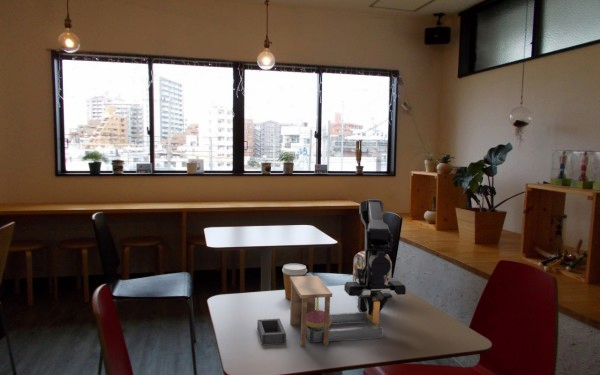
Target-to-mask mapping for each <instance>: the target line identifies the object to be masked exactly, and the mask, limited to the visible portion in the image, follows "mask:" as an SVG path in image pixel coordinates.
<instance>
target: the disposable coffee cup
mask: <svg viewBox="0 0 600 375" xmlns="http://www.w3.org/2000/svg"><path fill="white" fill-rule="evenodd" d="M281 270H282V273H283V286H284V296H285V299H287V300H289V301H291V281H290V277H295V276H307V275H306V274H307V272H308V269H307V266H306V265H304V264H303V263H302V264H301V263H287V264H284V265H283V267H282V269H281Z"/></svg>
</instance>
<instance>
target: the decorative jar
mask: <svg viewBox="0 0 600 375" xmlns="http://www.w3.org/2000/svg"><path fill="white" fill-rule="evenodd" d="M387 257H388V259H389V261H390V264H391V269H390V271H389V272H388V273H387V275H385V284H386V285H388V282H389V281H392V271H393V270H392V269H393V267H392V266H393V263H392V259H391V258H390V256H389V254H388V253H387ZM352 263H353V265H352V267H353V268H352V270H353V271H352V282H358V279H356V278H355V271H356V269H362V270H363V268H364V267H365V250H361V251H359V252H358V253H356V254H355V255H354V257H353V262H352Z"/></svg>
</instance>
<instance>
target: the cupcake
mask: <svg viewBox="0 0 600 375" xmlns="http://www.w3.org/2000/svg"><path fill="white" fill-rule="evenodd" d="M319 308H320V305H319V298H316V300H315V310H313V311H310V312H309V313H307V317H306V325H307V326H309V327H311V328H312V330H313V331H319V330H324V310H321V309H319ZM331 319H332V318H331V316H330V315H329V327H330V326H331V325H332V324H331V322H332V320H331Z"/></svg>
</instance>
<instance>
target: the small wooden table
mask: <svg viewBox="0 0 600 375" xmlns="http://www.w3.org/2000/svg"><path fill="white" fill-rule="evenodd" d="M290 281H291V300H290V307H289V308H290V312H289V314H290V315H289V318H290V319H289V324H290V325H300V347H301V348H306V344H307V343H306V342H307V341H306V340H307V339H306V338H307V336H306V317H307V313H309V312H310V311H313V310H316V298H324V310H323V311H324V335H323V342H322V344H323V346H324V347H325V346H327V347H328V346H329V341H328V338H329V330H330V326H329V314H331V313H330V311H331V310H330V308H331V298H333V293H332V291H331V290H330V289H329V288H328V287H327V286H326V284H325V283H324V282H323V281H322V279H321V278H320V277H319V275H305V276H295V277H290Z"/></svg>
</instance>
